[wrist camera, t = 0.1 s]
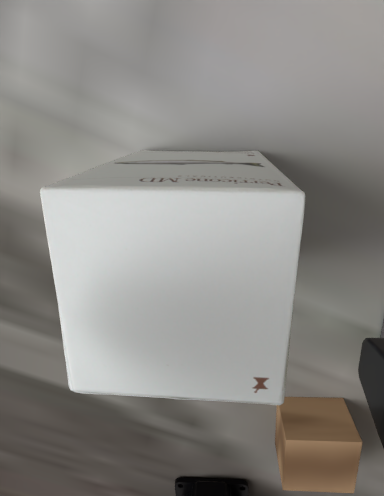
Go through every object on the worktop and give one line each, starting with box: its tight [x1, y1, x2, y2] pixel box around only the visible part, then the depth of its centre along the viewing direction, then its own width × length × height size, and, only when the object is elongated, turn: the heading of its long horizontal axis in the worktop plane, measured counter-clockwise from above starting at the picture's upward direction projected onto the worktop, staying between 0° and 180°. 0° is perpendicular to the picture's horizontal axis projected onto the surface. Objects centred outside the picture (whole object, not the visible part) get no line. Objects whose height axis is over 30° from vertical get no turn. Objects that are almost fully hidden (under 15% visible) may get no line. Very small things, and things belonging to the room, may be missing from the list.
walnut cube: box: [275, 397, 362, 493], centre depth 26 cm, size 5×5×4 cm
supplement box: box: [40, 150, 305, 405], centre depth 16 cm, size 7×7×13 cm
